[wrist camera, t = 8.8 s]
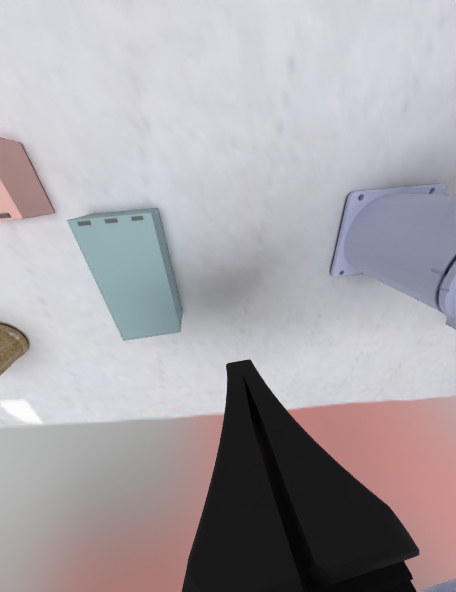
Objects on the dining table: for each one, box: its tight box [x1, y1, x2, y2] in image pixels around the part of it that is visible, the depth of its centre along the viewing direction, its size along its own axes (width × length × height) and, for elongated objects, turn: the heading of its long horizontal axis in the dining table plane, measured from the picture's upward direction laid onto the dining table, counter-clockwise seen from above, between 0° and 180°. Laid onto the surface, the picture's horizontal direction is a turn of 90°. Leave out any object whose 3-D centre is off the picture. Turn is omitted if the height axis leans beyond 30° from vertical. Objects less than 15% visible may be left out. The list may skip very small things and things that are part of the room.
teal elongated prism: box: [67, 208, 182, 341], centre depth 16 cm, size 5×10×3 cm, turn 4°
